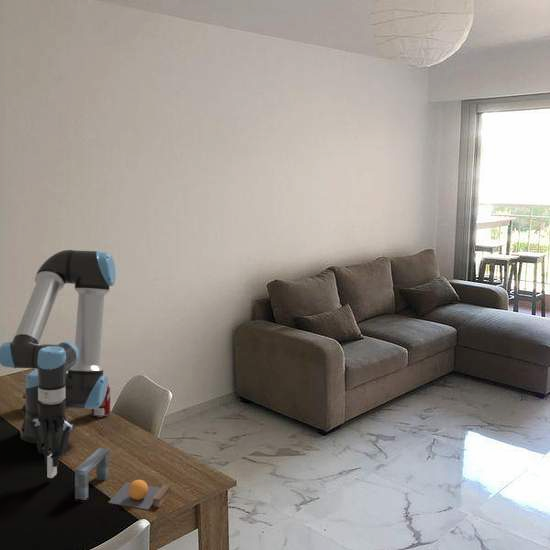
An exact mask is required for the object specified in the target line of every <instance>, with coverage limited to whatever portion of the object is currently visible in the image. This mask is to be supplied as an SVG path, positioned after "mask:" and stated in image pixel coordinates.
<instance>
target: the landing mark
mask: <svg viewBox="0 0 550 550" xmlns="http://www.w3.org/2000/svg"><path fill="white" fill-rule="evenodd" d="M131 483H132V482H128V481H127V482H126V483H125V484H123V486H122V487H121V488H120V489H119V490H118V491H117V492H116V493H115V494H114V496H113V497H112V498H111V499H110V500H109V501H108V502H107V503H108V504H112V505H116V506H121V507H122V506H124V507H128V508H135V509H140V510H146V511H149V510H150V509H151V507H153V498H154V497H155V495H156V494H157V493H158V491H159V490H160V489H161V488H162V487H158V486H154V485H153V486H152V485H147V486H148V493H147V495H146V496H145V497H144V498H143V499H141V500H134V499H132V498H131V497H130V495H129V492H128V489H129V486H130V484H131Z"/></svg>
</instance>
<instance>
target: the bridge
mask: <svg viewBox="0 0 550 550" xmlns="http://www.w3.org/2000/svg"><path fill="white" fill-rule="evenodd" d="M109 465H110V449H109V448H103V447H99V448H97V449H96V450H95V451H94V452H93V453H92V454H91V455H90V456H89V457H87V458H86V459H85V460H84V461H83V462H82V463H81V464H79V466H77V467H76V468H75V470H74V489H75V490H74V500H75V499H81V500H86V499H87V498H88V499H89V475H90V474H89V472H90V471H91V470H92V469H93V468H95V466H96V477H95V478H96V480H98V481H99V480H100V481H108V479H109V478H110V477H109V474H110V473H109V469H110V468H109ZM88 499H87V500H88ZM87 500H86V501H87Z"/></svg>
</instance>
